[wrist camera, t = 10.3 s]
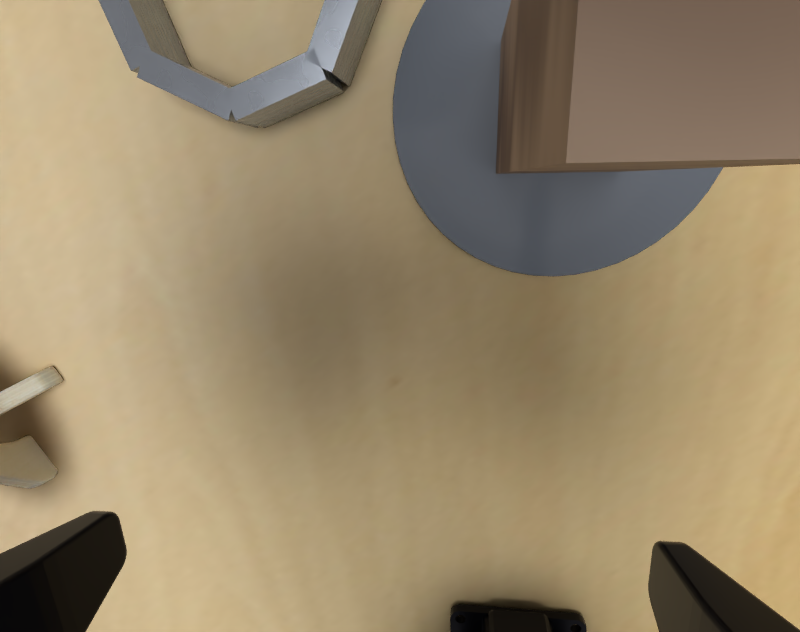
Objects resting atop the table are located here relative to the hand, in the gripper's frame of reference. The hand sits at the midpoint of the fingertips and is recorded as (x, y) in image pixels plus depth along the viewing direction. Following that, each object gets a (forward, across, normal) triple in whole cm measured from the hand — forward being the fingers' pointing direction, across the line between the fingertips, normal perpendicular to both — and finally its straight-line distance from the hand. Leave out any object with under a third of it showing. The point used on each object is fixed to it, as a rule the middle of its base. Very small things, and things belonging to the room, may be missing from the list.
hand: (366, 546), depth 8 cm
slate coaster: (+13, -5, -8) cm, 16 cm away
